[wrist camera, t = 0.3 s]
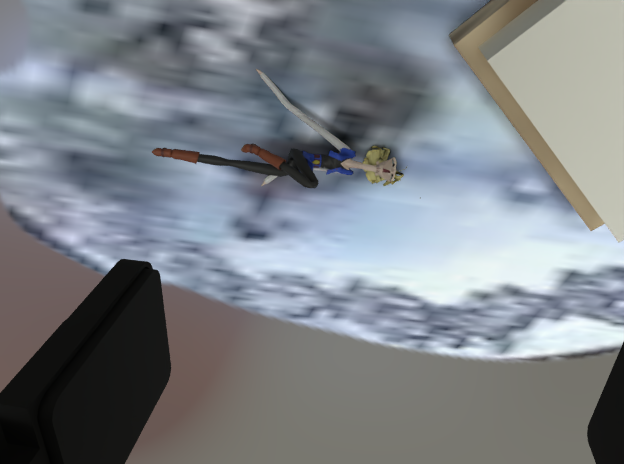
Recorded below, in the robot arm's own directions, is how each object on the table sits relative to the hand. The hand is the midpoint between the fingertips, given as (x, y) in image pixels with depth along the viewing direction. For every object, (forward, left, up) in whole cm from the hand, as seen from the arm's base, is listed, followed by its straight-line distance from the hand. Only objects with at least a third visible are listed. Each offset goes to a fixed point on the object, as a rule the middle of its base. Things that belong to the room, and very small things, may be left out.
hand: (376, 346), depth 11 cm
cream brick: (-9, +9, -26) cm, 29 cm away
